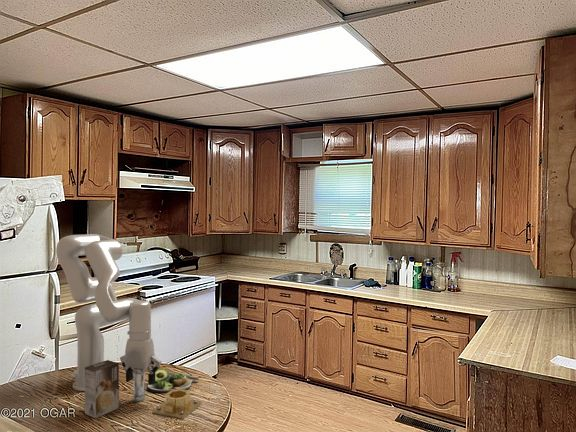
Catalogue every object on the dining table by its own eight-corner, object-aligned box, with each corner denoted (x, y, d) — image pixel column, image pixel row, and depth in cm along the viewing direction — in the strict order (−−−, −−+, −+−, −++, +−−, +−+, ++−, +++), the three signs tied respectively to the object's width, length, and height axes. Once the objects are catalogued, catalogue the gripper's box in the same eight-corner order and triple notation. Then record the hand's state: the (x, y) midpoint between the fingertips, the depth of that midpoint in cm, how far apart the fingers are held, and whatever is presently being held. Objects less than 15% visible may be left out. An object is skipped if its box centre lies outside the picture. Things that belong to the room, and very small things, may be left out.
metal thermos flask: (130, 401, 158) (131, 368, 158) (137, 396, 162) (138, 364, 161) (140, 402, 156) (140, 369, 156) (147, 398, 160) (147, 365, 160)
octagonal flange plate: (152, 413, 149) (152, 398, 149) (172, 398, 160) (172, 385, 160) (182, 419, 145) (183, 404, 145) (201, 404, 156) (201, 390, 156)
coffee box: (107, 403, 155) (108, 359, 155) (119, 408, 152) (119, 362, 152) (83, 413, 147) (84, 366, 147) (95, 419, 144) (96, 370, 144)
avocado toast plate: (200, 375, 184) (200, 364, 184) (197, 393, 166) (197, 381, 166) (153, 376, 182) (153, 365, 182) (144, 395, 164) (144, 382, 164)
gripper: (113, 336, 158) (113, 383, 158) (153, 340, 152) (154, 389, 152) (127, 330, 165) (127, 375, 165) (166, 334, 159) (166, 381, 159)
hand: (140, 382), depth 159 cm, fingers open, 9 cm apart
